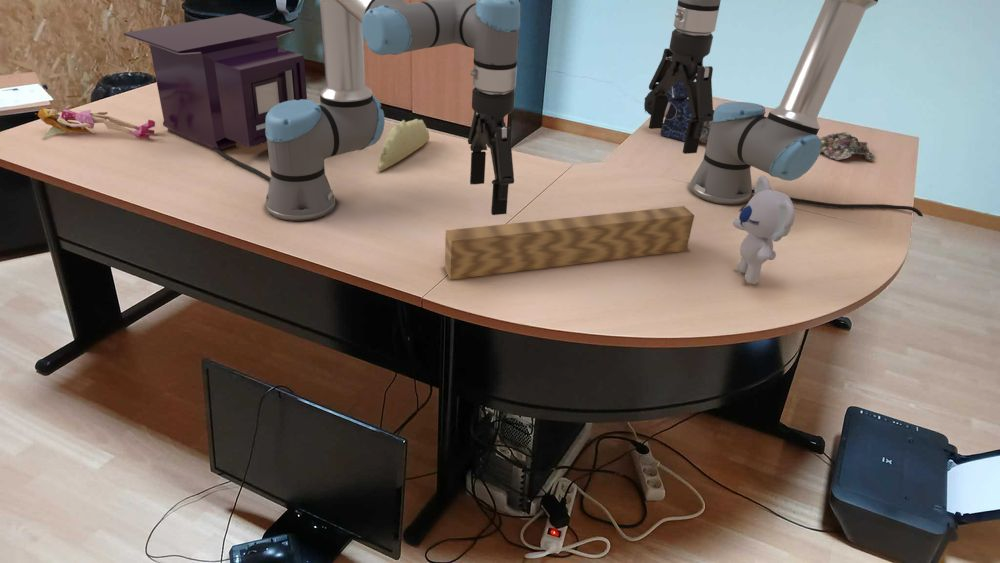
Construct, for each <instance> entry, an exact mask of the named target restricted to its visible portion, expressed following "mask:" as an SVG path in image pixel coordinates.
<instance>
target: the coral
mask: <svg viewBox="0 0 1000 563" xmlns="http://www.w3.org/2000/svg"><path fill="white" fill-rule="evenodd" d="M819 138H820V139H821V142H822V146H821V152H820V153H824V155H825V156H827V157H828V158H830V159H832V160H835V161H839V160H840V161H841V160H844V159H848V158H851V157H852V155H853V154H854V155H857V154H859V155H860V156H861V158H863V159H865V160H866V161H871V162H874V160H875V159H874V158H875V155H874V154H873V153H872V152H871V151H870V149H869V147H868V142H867V141H859V139H858V137H855V136H853V135H852V134H851V133H849V132H848V131H846V132H844V131H843V132H836V133H830V134H827V135H826V136H822V137H819ZM873 157H874V158H873Z"/></svg>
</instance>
